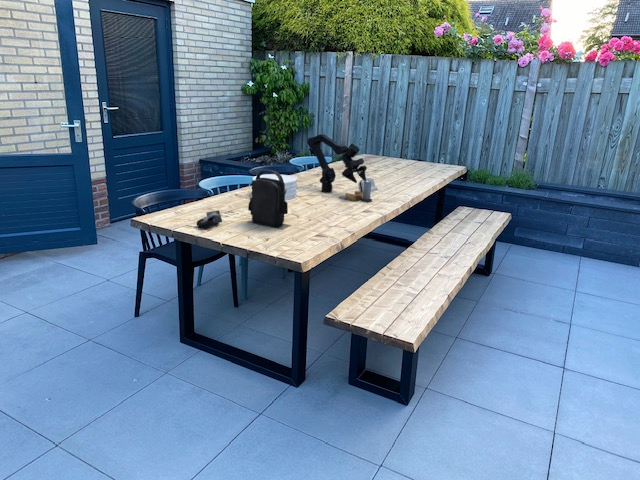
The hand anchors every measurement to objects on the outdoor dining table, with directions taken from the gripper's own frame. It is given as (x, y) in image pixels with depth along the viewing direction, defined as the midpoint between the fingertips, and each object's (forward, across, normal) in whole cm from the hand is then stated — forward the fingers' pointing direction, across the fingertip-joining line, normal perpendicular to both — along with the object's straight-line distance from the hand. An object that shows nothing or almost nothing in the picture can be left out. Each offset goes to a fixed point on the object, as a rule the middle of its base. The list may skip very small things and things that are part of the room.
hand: (361, 181), depth 303 cm
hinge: (-1, +24, +18) cm, 30 cm away
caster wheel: (+1, -106, +16) cm, 107 cm away
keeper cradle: (+4, 0, +12) cm, 13 cm away
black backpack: (+12, -79, +5) cm, 80 cm away
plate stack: (-21, -36, +38) cm, 56 cm away
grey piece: (+12, 0, +5) cm, 13 cm away
